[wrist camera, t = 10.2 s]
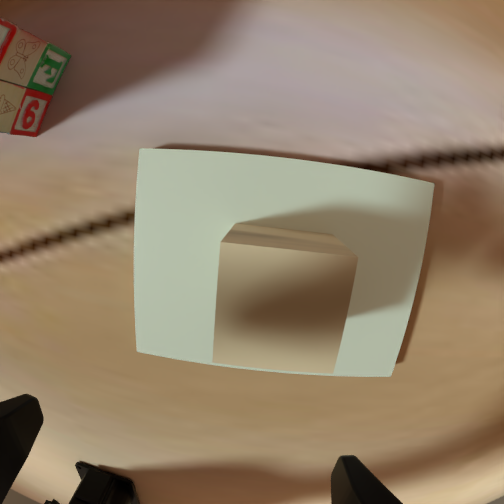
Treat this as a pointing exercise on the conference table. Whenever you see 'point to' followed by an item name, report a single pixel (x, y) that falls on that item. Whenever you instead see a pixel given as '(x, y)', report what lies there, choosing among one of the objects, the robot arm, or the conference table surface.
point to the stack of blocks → (26, 79)
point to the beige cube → (281, 299)
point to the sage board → (278, 216)
